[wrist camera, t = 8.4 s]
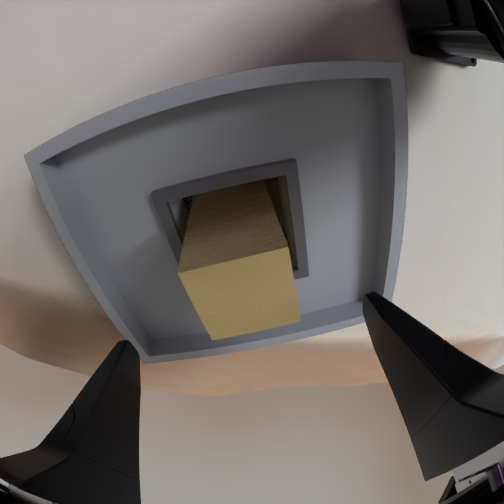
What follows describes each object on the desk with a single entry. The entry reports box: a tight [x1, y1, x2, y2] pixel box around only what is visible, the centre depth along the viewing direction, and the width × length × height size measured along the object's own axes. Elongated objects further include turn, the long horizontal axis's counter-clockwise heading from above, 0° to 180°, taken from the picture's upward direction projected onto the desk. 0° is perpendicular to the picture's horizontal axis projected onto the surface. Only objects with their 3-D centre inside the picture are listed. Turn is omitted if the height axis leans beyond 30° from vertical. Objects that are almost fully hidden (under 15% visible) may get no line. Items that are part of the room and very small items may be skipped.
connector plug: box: [178, 180, 301, 340], centre depth 14 cm, size 4×4×8 cm
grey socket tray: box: [24, 61, 408, 363], centre depth 16 cm, size 18×16×4 cm
